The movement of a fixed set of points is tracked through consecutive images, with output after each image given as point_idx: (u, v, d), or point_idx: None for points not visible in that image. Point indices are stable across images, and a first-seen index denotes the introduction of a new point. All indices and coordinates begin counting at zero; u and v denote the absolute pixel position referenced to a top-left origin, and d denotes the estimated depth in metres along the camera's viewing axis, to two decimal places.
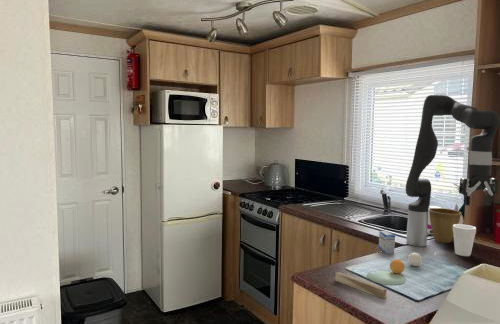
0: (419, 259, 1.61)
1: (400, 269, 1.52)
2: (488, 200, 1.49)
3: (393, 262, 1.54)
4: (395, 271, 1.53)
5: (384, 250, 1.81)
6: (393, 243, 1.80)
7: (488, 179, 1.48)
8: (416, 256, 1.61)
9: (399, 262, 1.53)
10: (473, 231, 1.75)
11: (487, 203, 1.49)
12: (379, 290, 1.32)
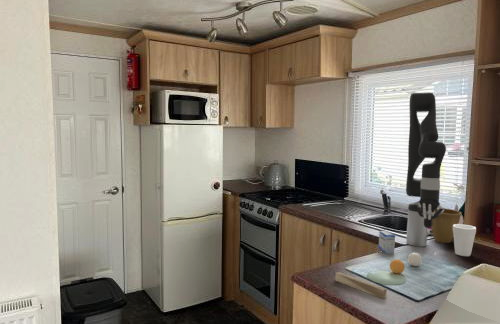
0: (419, 259, 1.61)
1: (400, 269, 1.52)
2: None
3: (393, 262, 1.54)
4: (395, 271, 1.53)
5: (384, 250, 1.81)
6: (393, 243, 1.80)
7: None
8: (416, 256, 1.61)
9: (399, 262, 1.53)
10: (473, 231, 1.75)
11: None
12: (379, 290, 1.32)
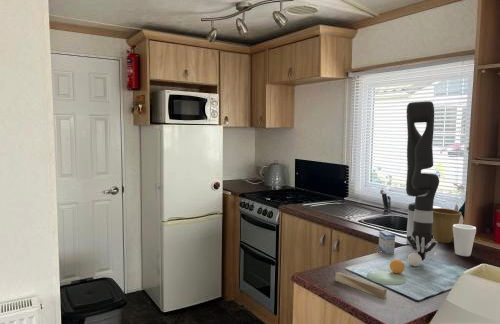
0: (419, 259, 1.61)
1: (400, 269, 1.52)
2: None
3: (393, 262, 1.54)
4: (395, 271, 1.53)
5: (384, 250, 1.81)
6: (393, 243, 1.80)
7: None
8: (416, 256, 1.61)
9: (399, 262, 1.53)
10: (473, 231, 1.75)
11: None
12: (379, 290, 1.32)
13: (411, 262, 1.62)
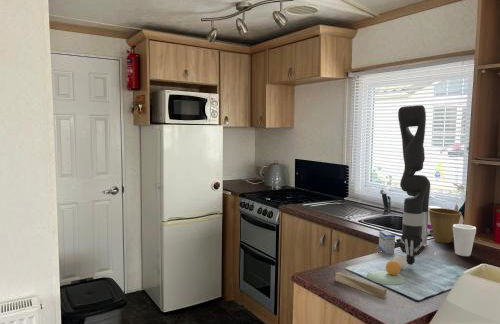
0: (406, 265, 1.57)
1: (397, 273, 1.51)
2: None
3: (387, 270, 1.52)
4: None
5: (384, 250, 1.81)
6: (393, 243, 1.80)
7: None
8: (404, 268, 1.58)
9: (393, 269, 1.50)
10: (473, 231, 1.75)
11: None
12: (379, 290, 1.32)
13: None
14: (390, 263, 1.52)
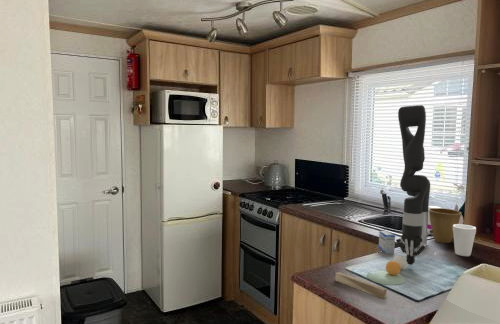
0: (406, 265, 1.57)
1: (397, 273, 1.51)
2: None
3: (387, 270, 1.52)
4: None
5: (384, 250, 1.81)
6: (393, 243, 1.80)
7: None
8: (404, 268, 1.58)
9: (393, 269, 1.50)
10: (473, 231, 1.75)
11: None
12: (379, 290, 1.32)
13: None
14: (390, 263, 1.52)
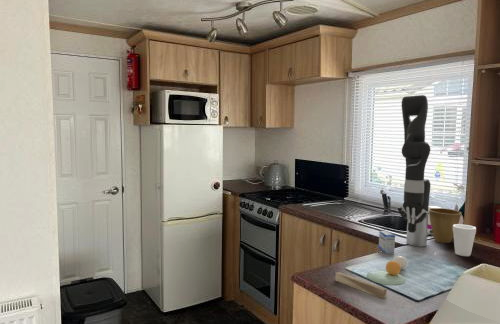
0: (406, 265, 1.57)
1: (397, 273, 1.51)
2: None
3: (387, 270, 1.52)
4: None
5: (384, 250, 1.81)
6: (393, 243, 1.80)
7: None
8: (404, 268, 1.58)
9: (393, 269, 1.50)
10: (473, 231, 1.75)
11: None
12: (379, 290, 1.32)
13: None
14: (390, 263, 1.52)
